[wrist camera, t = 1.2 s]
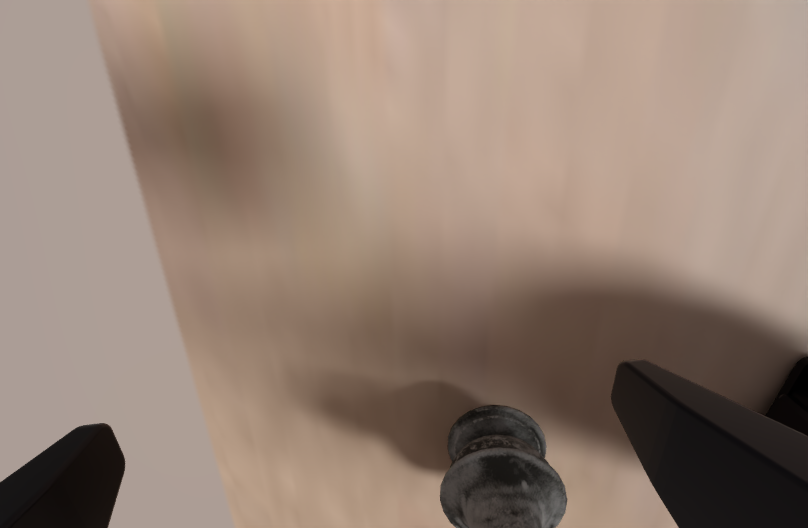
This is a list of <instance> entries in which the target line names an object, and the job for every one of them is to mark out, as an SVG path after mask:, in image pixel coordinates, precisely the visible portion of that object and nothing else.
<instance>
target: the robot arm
mask: <svg viewBox="0 0 808 528" xmlns="http://www.w3.org/2000/svg"><path fill="white" fill-rule="evenodd" d="M611 400H612V404H613V407H614V410H615V412H616V414H617V416H618V418H619V420H620V422H621V424H622V426H623V428H624V430H625V432H626V434H627V436H628V438H629V440H630V442H631V444H632V446H633V448H634V450H635V452H636V454H637V456H638V458H639V460H640V462H641V464H642V466H643V468H644V470H645V472H646V474H647V475H648V477H649V479H650V481H651V483H652V485H653V486H654V488H655V490H656V491H657V493H658V495H659V496H660V498H661V500H662V501H663V503H664V505H665V506H666V508H667V509H668V511H669V513H670V514H671V516H672V517H673V519H674V521H675V522H676V524H677V525H678V527H679V528H808V357H806V358H803V359H801V360H800V361H799V362H798V363H797V364H796V366H795V367H794V369H793V371H792V372H791V374H790V376H789V377H788V379H787V381H786V383H785V384H784V386H783V388H782V389H781V391H780V393H779V394H778V396H777V398H776V399H775V401H774V403H773V404H772V406H771V408H770V409H769V411H768V413H767V415H766V416H764V415H762V414H759V413H757V412H755V411H753V410H751V409H749V408H747V407H745V406H742V405H740V404H738V403H736V402H734V401H732V400H730V399H727V398H725V397H723V396H721V395H719V394H717V393H715V392H713V391H710V390H708V389H706V388H704V387H702V386H700V385H698V384H695V383H693V382H691V381H689V380H687V379H685V378H683V377H681V376H678V375H676V374H674V373H672V372H670V371H668V370H666V369H663V368H661V367H659V366H657V365H655V364H653V363H651V362H649V361H646V360H644V359H634V360H626V361H622V362H620V364H619V365H618V367H617V371H616V375H615V380H614V384H613V389H612V393H611ZM124 471H125V459H124V455H123V453H122V451H121V448H120V446H119V444H118V442H117V439H116V437H115V435H114V433H113V430H112V428H111V427H110V426H109V425H108V424H105V423H99V424H91V425H83V426H79V427H77V428H75V429H74V430H72V431H71V432H70V433H68V434H67V435H65V436H64V437H63V438H61V439H60V440H59V441H57V442H56V443H54V444H53V445H52V446H50V447H49V448H47V449H46V450H45V451H43V452H42V453H41V454H39V455H38V456H36V457H35V458H33V459H32V460H31V461H29V462H28V463H27V464H25V465H24V466H23V467H21V468H20V469H18V470H17V471H16V472H14V473H13V474H11V475H10V476H8V477H7V478H6V479H4V480H3V481H2V482H0V528H108V525H109V522H110V519H111V515H112V511H113V508H114V505H115V502H116V498H117V495H118V492H119V488H120V485H121V482H122V478H123V475H124Z"/></svg>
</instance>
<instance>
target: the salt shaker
mask: <svg viewBox="0 0 808 528" xmlns="http://www.w3.org/2000/svg"><path fill="white" fill-rule="evenodd" d="M448 451H449V455H450V458H451V460H452V464H451V466H450V469H449V470H448V471H447V472H446V474H445V476H444V479H443V481H442V483H441V490H440V501H441V505H442V508H443V512H444V513H445V515H446V516H447V518H448V519H449V521H450V522H451V523H452V524H453V525H454V526H455V527H456V528H555V527H556V526H557V525H558V524H559V523H560V521H561V519H562V517H563V516H564V514H565V510H566V504H567V496H566V491H565V486H564V484H563V482H562V480H561V478H560V477H559V475H558V473H557V472H556V471H555V470H554V469H553V468H552V467H551V466H550V465H549V463H548V462H547V461H546V460H545V459H544V458H545V454H546V442H545V437H544V434H543V432H542V430H541V429H540V427H539V425H538V424H537V423H536V422H535V421H534V420H533V419H532V418H531V417H530V416H528V415H526V414H525V413H523V412H521V411H519V410H516V409H513V408H510V407H507V406H494V405H493V406H486V407H480V408H477V409H474V410H472V411H469V412H468V413H466V414H465V415H463V416H462V417H460V418H459V419H458V420H457V422H456V423H455V424H454V425H453V427H452V429H451V431H450V434H449V436H448Z"/></svg>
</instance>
